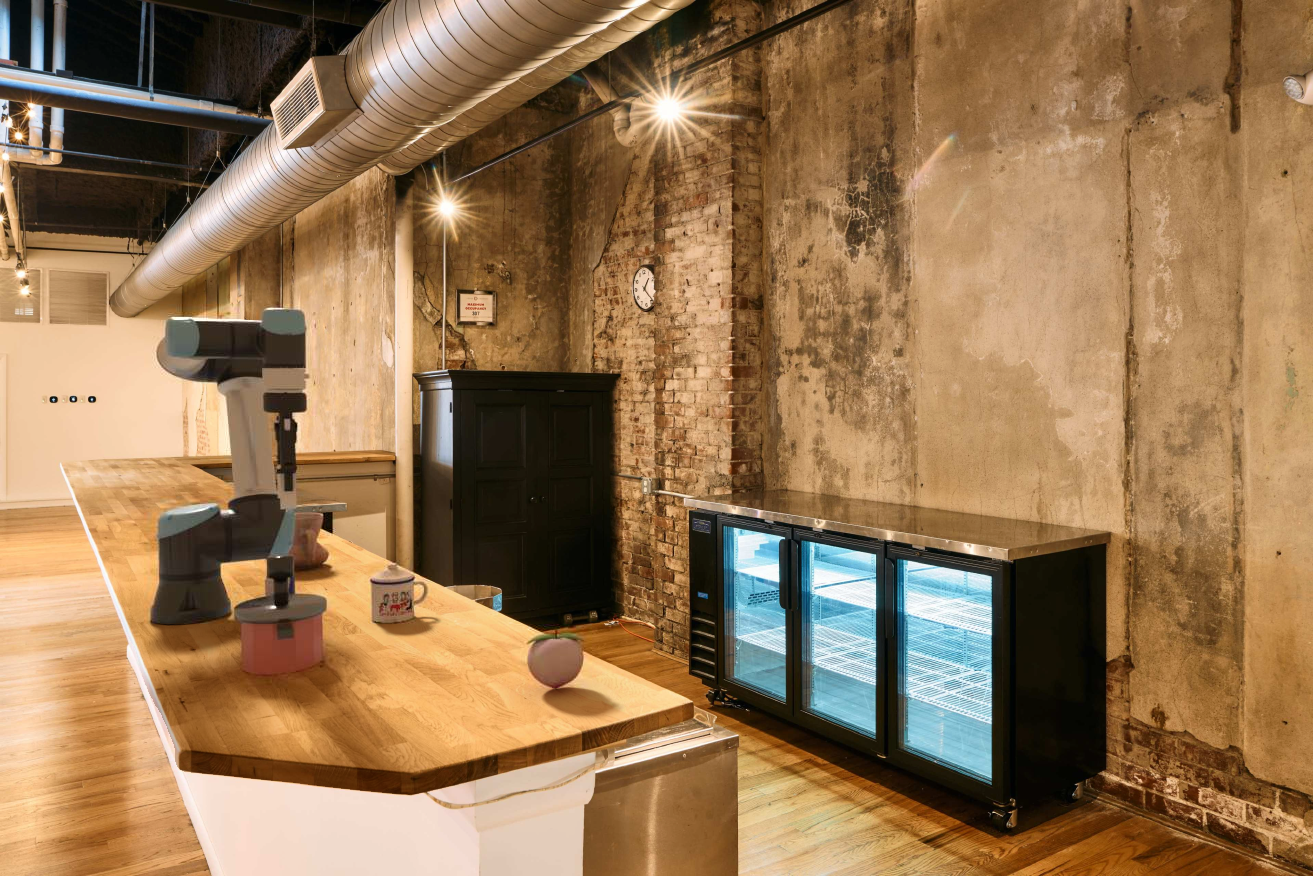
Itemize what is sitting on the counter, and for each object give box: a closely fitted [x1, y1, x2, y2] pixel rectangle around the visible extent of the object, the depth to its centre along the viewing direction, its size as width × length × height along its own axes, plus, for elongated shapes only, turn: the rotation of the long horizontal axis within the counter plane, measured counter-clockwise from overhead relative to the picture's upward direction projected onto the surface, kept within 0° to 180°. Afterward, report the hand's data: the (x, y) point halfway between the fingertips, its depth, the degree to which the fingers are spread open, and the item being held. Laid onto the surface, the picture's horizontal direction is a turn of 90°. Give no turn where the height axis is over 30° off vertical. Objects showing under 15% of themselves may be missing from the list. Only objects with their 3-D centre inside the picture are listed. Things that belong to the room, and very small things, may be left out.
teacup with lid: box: [369, 562, 429, 624], centre depth 181 cm, size 12×9×12 cm
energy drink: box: [264, 575, 296, 597], centre depth 167 cm, size 5×5×12 cm
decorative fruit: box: [526, 627, 586, 689], centre depth 138 cm, size 9×8×10 cm
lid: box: [233, 554, 328, 624], centre depth 150 cm, size 15×15×10 cm
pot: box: [240, 613, 324, 676], centre depth 151 cm, size 21×13×9 cm, turn 27°
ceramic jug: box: [288, 512, 330, 570], centre depth 230 cm, size 18×14×14 cm
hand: (286, 503), depth 162 cm, fingers open, 13 cm apart
